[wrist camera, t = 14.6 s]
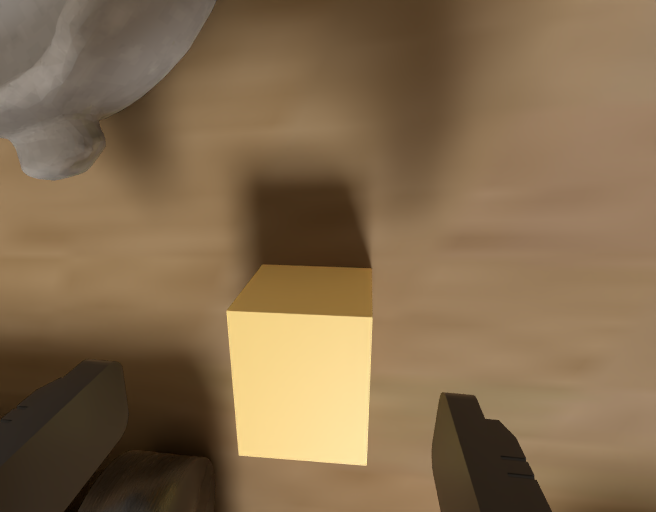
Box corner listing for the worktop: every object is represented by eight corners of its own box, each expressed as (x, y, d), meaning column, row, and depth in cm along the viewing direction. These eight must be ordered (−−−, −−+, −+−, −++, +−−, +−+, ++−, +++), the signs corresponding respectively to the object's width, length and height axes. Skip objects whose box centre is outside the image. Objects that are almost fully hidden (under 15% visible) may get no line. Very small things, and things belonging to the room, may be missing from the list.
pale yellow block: (371, 267, 14) (372, 317, 11) (367, 384, 16) (366, 465, 12) (262, 263, 15) (226, 310, 11) (269, 379, 16) (238, 455, 13)
